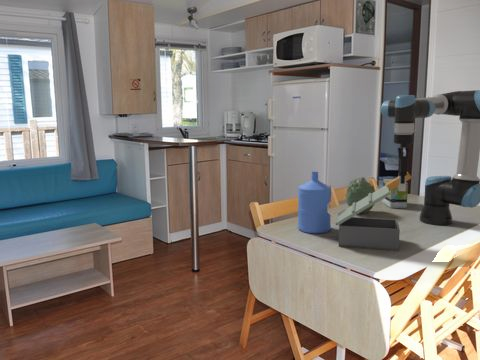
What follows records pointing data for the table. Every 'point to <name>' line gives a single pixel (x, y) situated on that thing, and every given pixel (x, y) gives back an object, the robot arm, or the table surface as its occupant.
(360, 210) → the lid
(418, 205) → the table surface
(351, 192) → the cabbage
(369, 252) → the table surface
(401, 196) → the tea box
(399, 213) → the table surface
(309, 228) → the water jug
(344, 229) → the parts tub
